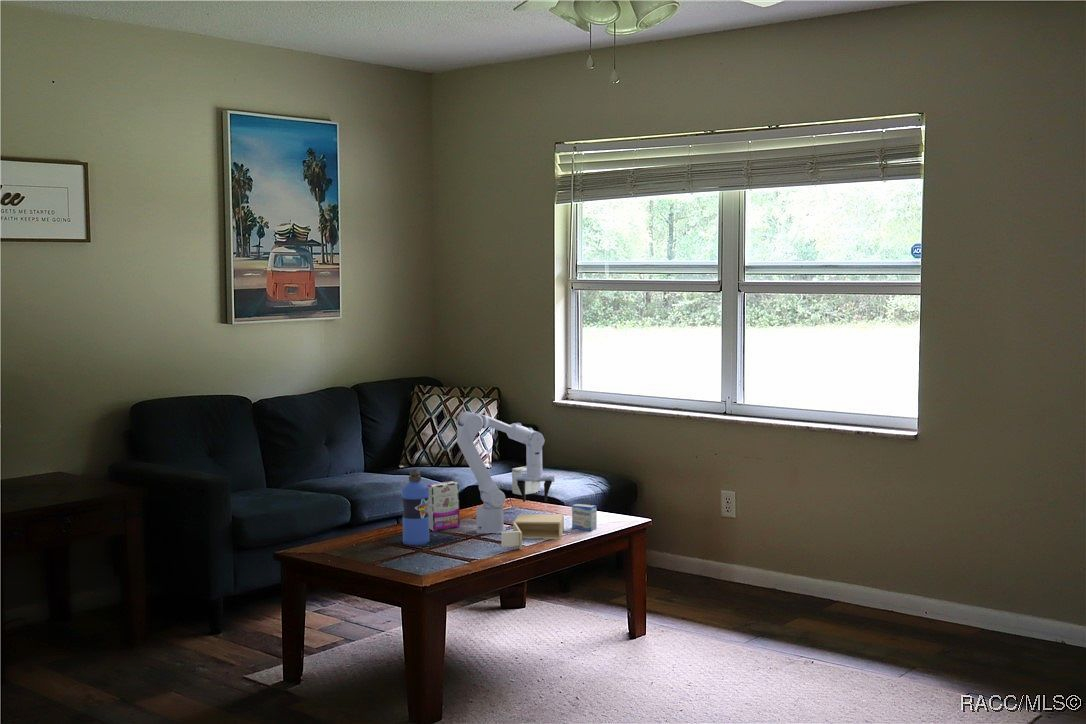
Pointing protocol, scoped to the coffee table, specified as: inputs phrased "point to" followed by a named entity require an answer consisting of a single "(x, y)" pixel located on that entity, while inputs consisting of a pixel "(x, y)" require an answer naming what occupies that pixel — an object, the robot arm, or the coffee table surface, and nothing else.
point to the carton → (541, 525)
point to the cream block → (512, 537)
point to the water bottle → (415, 510)
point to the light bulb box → (529, 485)
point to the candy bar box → (443, 506)
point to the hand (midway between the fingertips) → (534, 501)
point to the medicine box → (584, 517)
